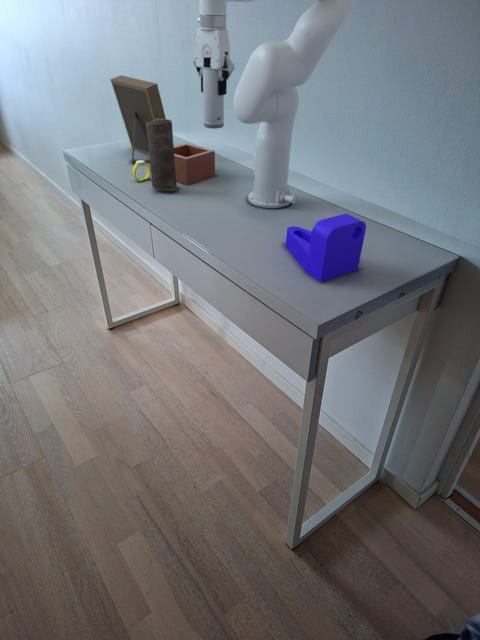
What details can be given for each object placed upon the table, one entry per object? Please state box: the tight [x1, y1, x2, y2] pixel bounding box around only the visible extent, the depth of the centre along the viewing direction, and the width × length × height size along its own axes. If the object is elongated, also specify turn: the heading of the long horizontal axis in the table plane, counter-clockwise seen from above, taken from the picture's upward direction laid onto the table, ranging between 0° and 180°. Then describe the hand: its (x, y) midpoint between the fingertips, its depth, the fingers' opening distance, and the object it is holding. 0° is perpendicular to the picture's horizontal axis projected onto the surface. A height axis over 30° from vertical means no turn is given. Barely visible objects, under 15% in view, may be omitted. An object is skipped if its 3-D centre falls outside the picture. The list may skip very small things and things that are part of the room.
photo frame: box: [110, 74, 167, 165], centre depth 158 cm, size 15×22×25 cm
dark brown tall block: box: [146, 118, 178, 192], centre depth 132 cm, size 8×7×20 cm
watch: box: [131, 159, 151, 182], centre depth 143 cm, size 6×3×6 cm, turn 135°
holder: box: [174, 142, 216, 186], centre depth 147 cm, size 13×13×8 cm
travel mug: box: [202, 57, 225, 130], centre depth 138 cm, size 6×7×20 cm
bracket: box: [285, 213, 367, 283], centre depth 101 cm, size 18×11×12 cm, turn 33°
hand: (213, 92), depth 138 cm, fingers closed on travel mug, 6 cm apart
